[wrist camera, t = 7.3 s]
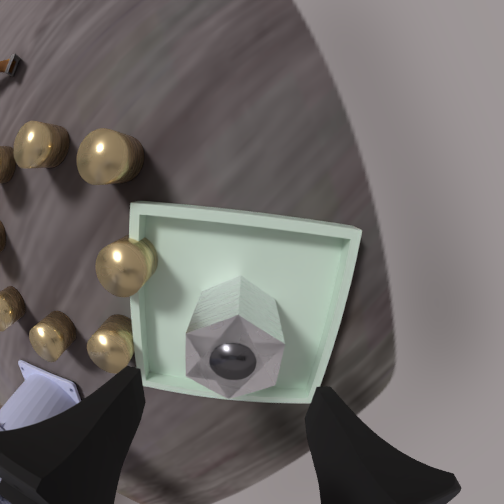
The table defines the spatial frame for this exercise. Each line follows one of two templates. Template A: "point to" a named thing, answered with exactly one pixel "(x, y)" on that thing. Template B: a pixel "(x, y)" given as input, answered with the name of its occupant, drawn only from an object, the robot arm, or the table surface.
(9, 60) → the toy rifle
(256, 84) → the table surface
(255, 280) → the tray
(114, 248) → the set of brass balls
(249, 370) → the steel nut
